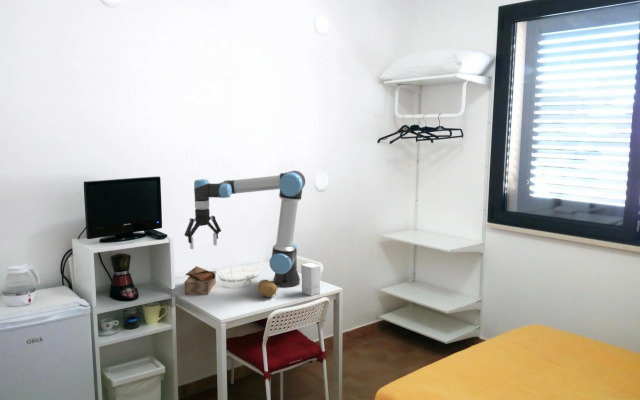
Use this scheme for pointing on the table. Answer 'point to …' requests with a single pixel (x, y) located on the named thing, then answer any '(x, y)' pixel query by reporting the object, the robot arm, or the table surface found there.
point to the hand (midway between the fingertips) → (203, 247)
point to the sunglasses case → (201, 274)
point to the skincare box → (310, 279)
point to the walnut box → (198, 286)
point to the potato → (267, 288)
